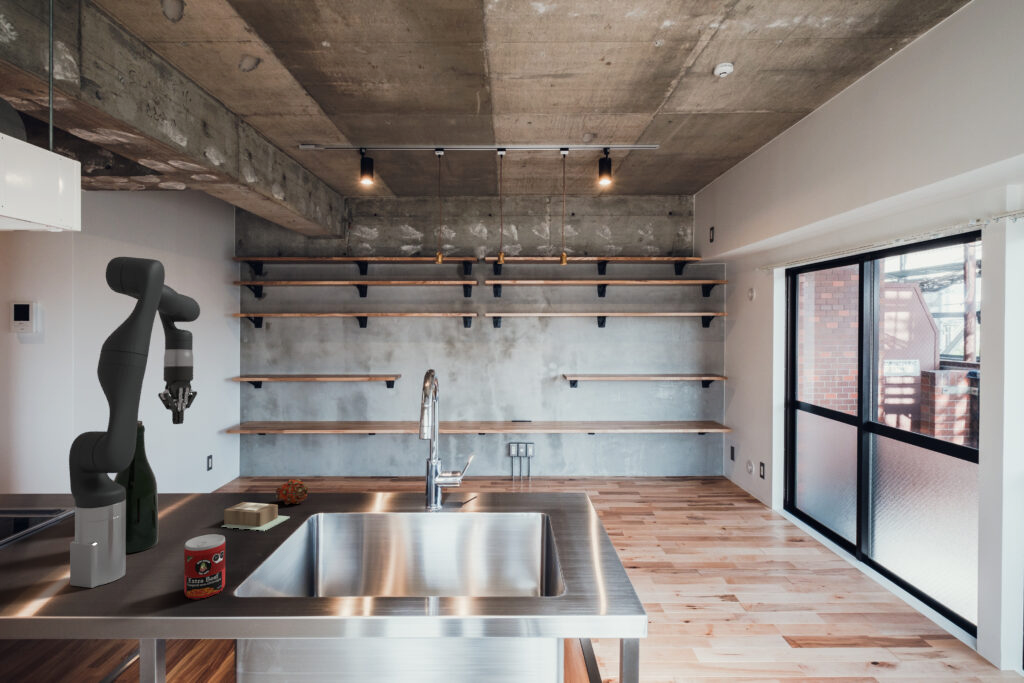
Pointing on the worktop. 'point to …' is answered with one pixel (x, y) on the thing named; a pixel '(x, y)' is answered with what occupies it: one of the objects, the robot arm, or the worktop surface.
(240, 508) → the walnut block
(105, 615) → the worktop surface
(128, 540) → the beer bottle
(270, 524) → the mat
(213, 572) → the canned food
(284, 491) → the dragon fruit
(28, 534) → the worktop surface
